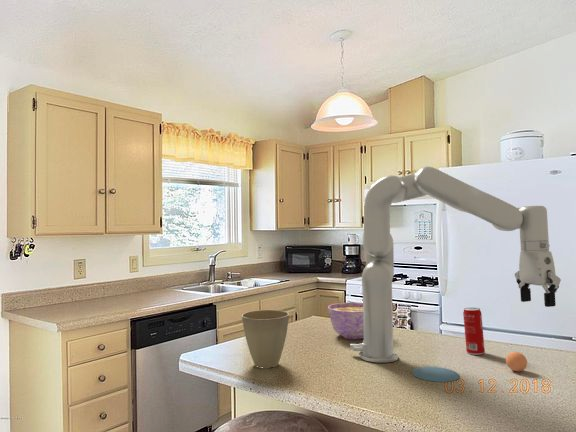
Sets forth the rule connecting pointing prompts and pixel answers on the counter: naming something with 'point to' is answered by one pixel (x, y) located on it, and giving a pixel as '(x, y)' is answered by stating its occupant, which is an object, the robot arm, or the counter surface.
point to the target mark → (435, 374)
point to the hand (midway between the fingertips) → (537, 303)
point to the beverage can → (473, 331)
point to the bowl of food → (347, 319)
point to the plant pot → (265, 335)
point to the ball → (516, 361)
